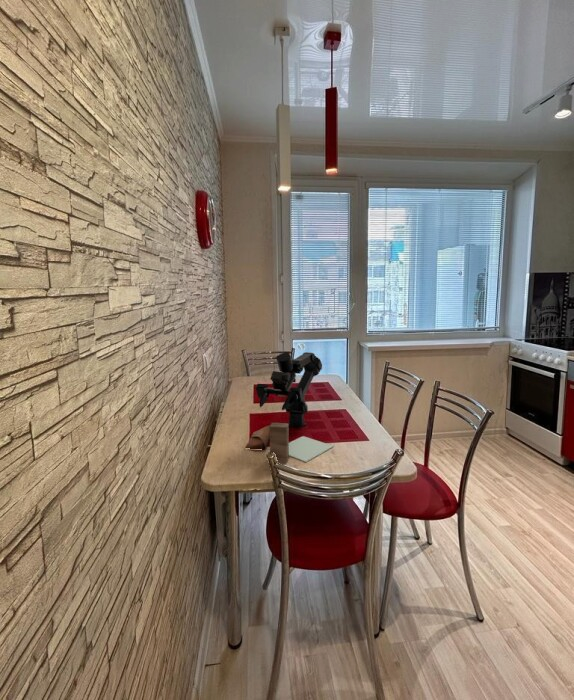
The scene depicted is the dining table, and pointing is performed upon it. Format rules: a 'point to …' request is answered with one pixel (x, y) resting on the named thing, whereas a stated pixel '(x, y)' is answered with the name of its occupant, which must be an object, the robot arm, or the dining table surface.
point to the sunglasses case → (259, 439)
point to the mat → (307, 448)
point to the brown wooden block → (280, 441)
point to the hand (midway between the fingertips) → (271, 407)
